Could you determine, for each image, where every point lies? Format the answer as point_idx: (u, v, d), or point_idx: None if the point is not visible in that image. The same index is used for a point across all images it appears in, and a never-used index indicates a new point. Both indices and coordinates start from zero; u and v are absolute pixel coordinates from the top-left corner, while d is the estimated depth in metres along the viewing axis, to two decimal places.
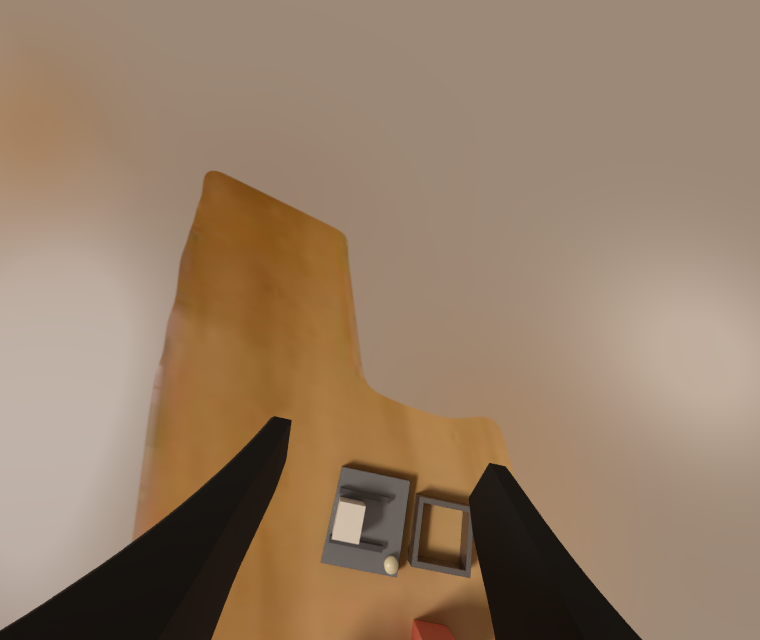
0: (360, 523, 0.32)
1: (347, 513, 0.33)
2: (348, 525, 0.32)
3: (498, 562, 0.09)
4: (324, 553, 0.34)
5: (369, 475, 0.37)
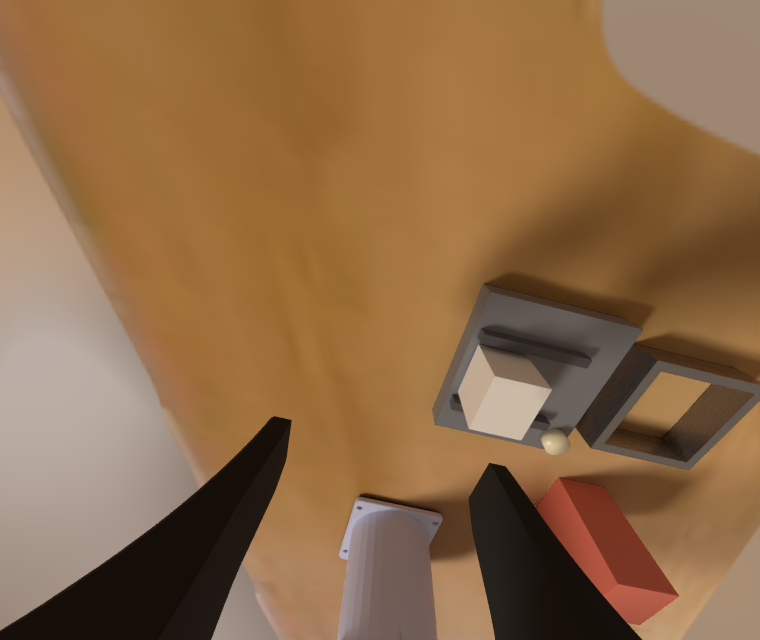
0: (532, 413, 0.15)
1: (508, 397, 0.15)
2: (505, 414, 0.15)
3: (498, 562, 0.09)
4: (441, 415, 0.20)
5: (551, 312, 0.16)
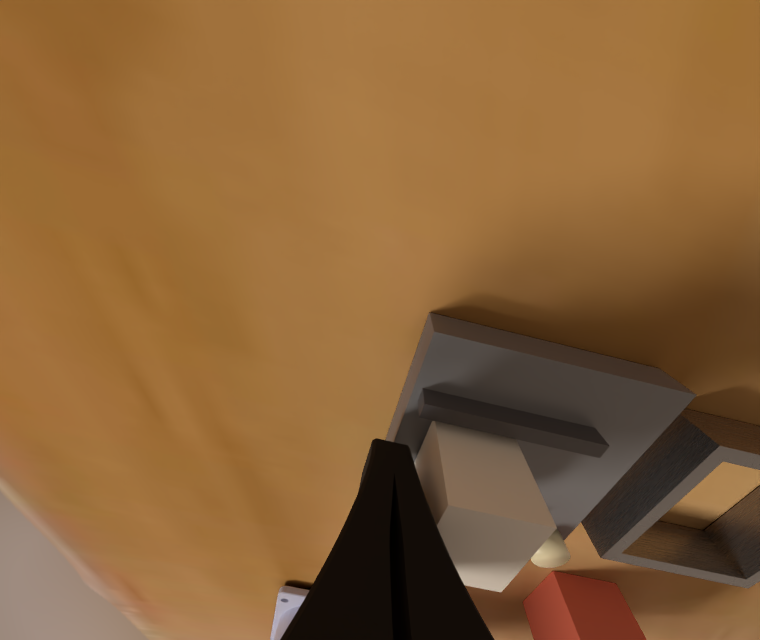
0: (520, 559, 0.08)
1: (475, 536, 0.08)
2: (472, 558, 0.08)
3: None
4: None
5: (539, 365, 0.09)
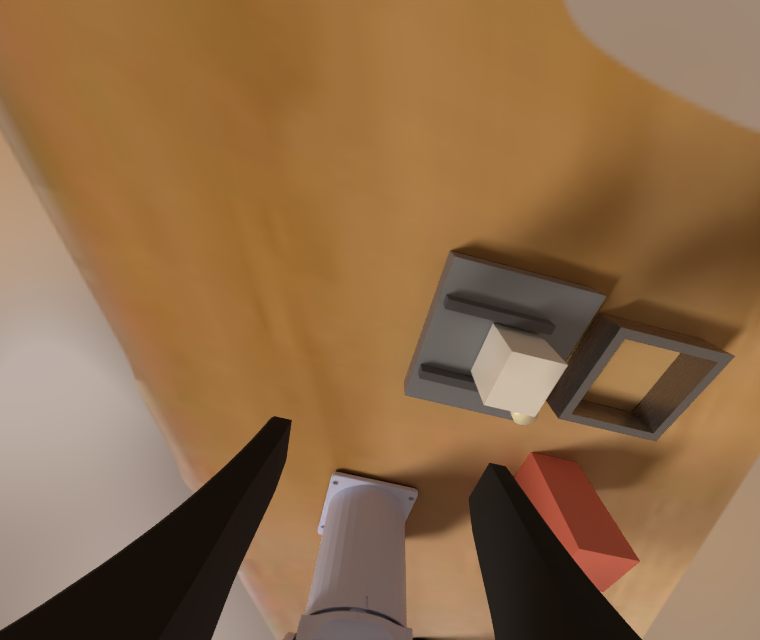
0: (547, 389, 0.15)
1: (524, 373, 0.15)
2: (520, 390, 0.15)
3: (498, 562, 0.09)
4: (410, 385, 0.20)
5: (515, 278, 0.16)
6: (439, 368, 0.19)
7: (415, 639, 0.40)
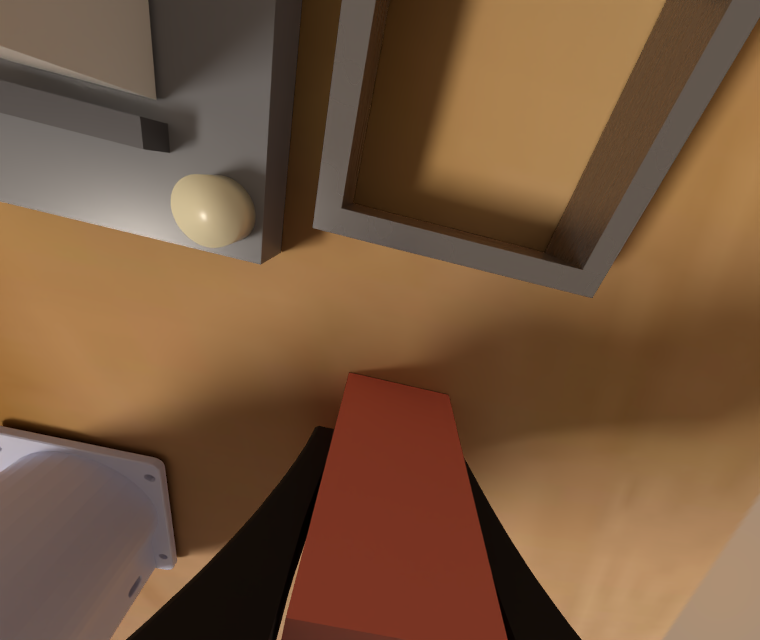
0: None
1: None
2: None
3: None
4: None
5: None
6: None
7: None
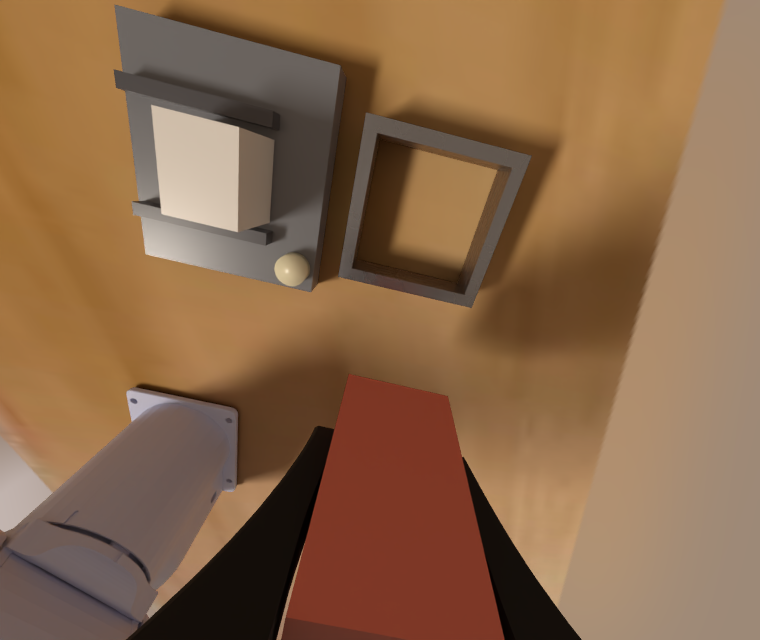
0: (231, 178, 0.11)
1: (187, 147, 0.10)
2: (196, 181, 0.11)
3: None
4: (146, 238, 0.15)
5: (208, 39, 0.12)
6: None
7: None
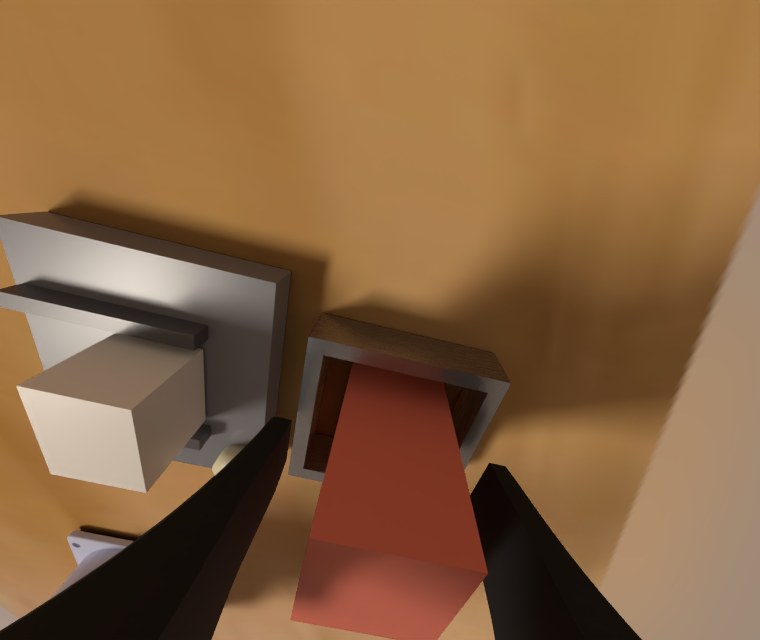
0: (130, 451, 0.09)
1: (69, 423, 0.08)
2: (88, 451, 0.09)
3: (498, 562, 0.09)
4: None
5: (112, 253, 0.09)
6: None
7: None
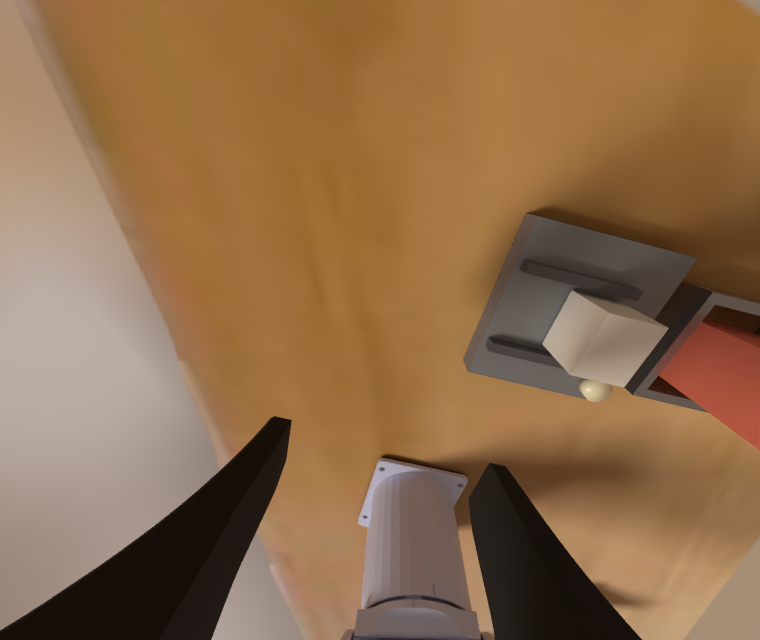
0: (642, 356, 0.14)
1: (619, 337, 0.14)
2: (612, 357, 0.14)
3: (498, 562, 0.09)
4: (475, 361, 0.19)
5: (601, 239, 0.15)
6: (508, 341, 0.18)
7: None
